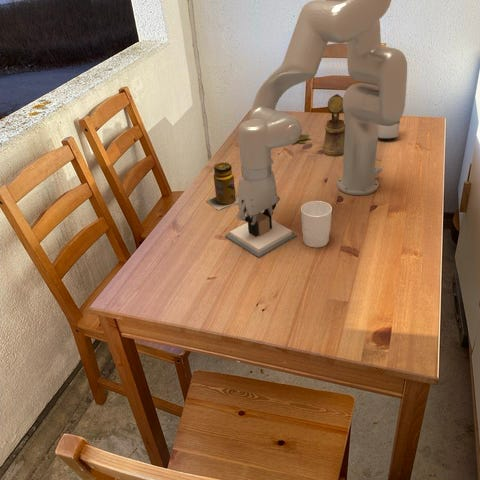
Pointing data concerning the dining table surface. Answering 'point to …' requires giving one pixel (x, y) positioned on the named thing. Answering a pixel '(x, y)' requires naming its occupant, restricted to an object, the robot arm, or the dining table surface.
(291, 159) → the dining table surface
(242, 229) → the lid
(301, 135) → the green leafy plant
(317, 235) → the white cup
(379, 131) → the spread jar
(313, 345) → the dining table surface
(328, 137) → the brass finial ornament
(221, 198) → the condiment
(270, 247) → the grey flat square slab
